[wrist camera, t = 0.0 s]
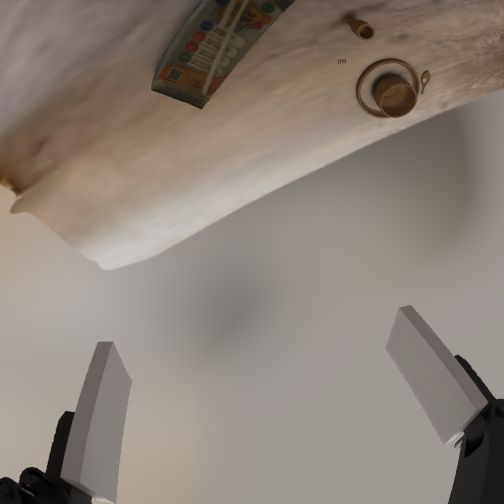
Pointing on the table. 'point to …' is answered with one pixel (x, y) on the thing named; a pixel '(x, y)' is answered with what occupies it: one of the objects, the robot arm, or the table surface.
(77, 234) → the table surface
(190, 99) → the beverage carton
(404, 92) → the place setting
